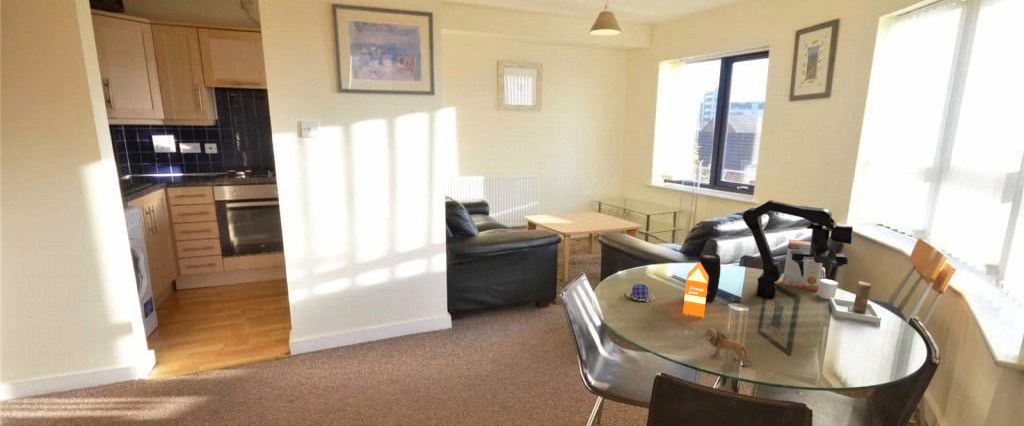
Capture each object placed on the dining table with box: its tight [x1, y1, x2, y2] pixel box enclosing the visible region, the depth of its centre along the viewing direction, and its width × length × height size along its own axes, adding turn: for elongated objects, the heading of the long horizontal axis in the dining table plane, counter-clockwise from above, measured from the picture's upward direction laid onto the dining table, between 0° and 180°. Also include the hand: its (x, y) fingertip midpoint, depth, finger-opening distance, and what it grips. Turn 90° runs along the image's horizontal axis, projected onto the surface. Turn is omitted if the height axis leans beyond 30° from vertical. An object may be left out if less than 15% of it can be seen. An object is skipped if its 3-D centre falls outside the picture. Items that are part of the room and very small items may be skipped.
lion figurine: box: [704, 327, 751, 365], centre depth 147 cm, size 15×5×9 cm, turn 56°
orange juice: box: [682, 262, 709, 318], centre depth 179 cm, size 8×9×20 cm
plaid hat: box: [630, 283, 655, 302], centre depth 194 cm, size 12×12×5 cm
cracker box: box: [782, 239, 824, 292], centre depth 206 cm, size 14×6×21 cm, turn 58°
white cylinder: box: [817, 278, 839, 300], centre depth 197 cm, size 7×7×7 cm
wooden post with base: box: [848, 280, 872, 315], centre depth 178 cm, size 6×6×12 cm
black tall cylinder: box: [697, 252, 722, 303], centre depth 191 cm, size 9×9×20 cm
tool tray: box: [829, 297, 882, 326], centre depth 181 cm, size 14×14×3 cm
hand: (815, 277), depth 184 cm, fingers open, 9 cm apart
